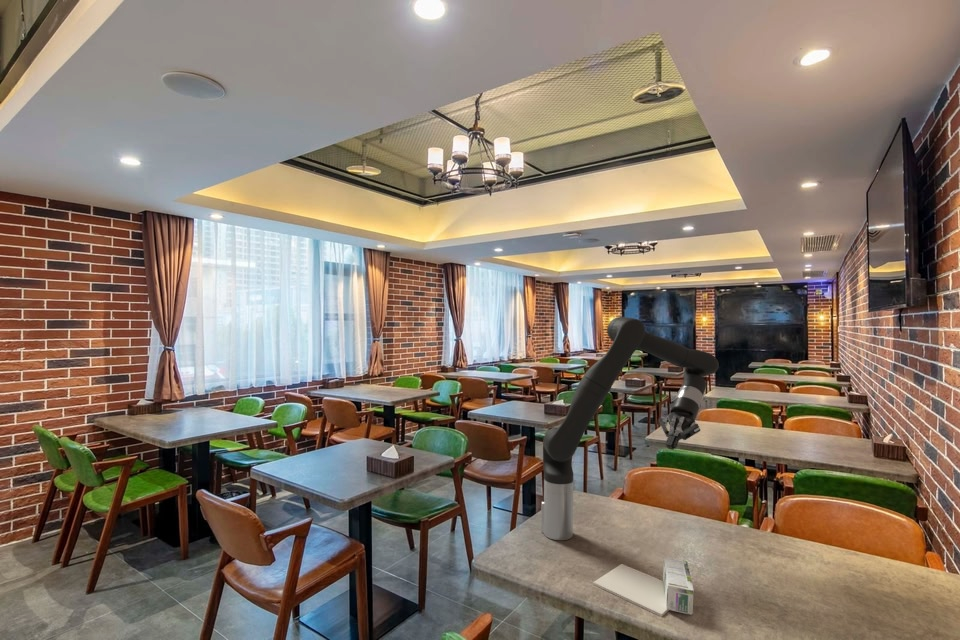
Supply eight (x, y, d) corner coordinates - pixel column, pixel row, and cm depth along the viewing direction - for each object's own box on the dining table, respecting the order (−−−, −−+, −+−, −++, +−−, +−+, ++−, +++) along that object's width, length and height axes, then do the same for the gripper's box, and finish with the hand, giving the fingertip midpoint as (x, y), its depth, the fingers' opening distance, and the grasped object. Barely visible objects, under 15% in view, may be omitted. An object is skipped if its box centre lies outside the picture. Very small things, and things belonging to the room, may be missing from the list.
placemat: (593, 584, 118) (593, 582, 118) (621, 566, 127) (621, 563, 127) (661, 616, 104) (661, 614, 104) (687, 593, 114) (687, 591, 114)
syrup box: (686, 583, 118) (694, 616, 104) (661, 578, 120) (666, 610, 106) (687, 560, 118) (695, 590, 104) (662, 556, 120) (667, 585, 106)
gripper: (663, 393, 151) (645, 436, 142) (705, 398, 141) (688, 444, 133) (670, 408, 155) (653, 451, 146) (711, 413, 145) (695, 459, 136)
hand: (670, 447), depth 139 cm, fingers closed
